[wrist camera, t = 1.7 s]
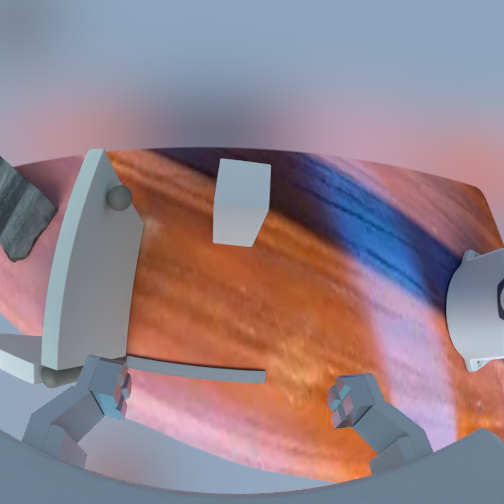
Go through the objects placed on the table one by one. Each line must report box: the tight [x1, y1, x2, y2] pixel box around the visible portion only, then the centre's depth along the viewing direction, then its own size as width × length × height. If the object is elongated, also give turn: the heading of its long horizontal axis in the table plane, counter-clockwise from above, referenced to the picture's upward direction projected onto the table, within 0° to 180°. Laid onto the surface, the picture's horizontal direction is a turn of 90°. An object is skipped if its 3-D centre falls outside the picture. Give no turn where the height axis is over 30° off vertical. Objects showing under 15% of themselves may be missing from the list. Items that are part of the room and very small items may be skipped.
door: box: [41, 149, 144, 388], centre depth 19 cm, size 15×5×13 cm, turn 176°
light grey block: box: [213, 158, 271, 247], centre depth 25 cm, size 4×4×9 cm
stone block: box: [0, 156, 58, 262], centre depth 23 cm, size 9×14×5 cm, turn 61°
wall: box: [0, 333, 266, 384], centre depth 17 cm, size 23×1×14 cm, turn 86°
